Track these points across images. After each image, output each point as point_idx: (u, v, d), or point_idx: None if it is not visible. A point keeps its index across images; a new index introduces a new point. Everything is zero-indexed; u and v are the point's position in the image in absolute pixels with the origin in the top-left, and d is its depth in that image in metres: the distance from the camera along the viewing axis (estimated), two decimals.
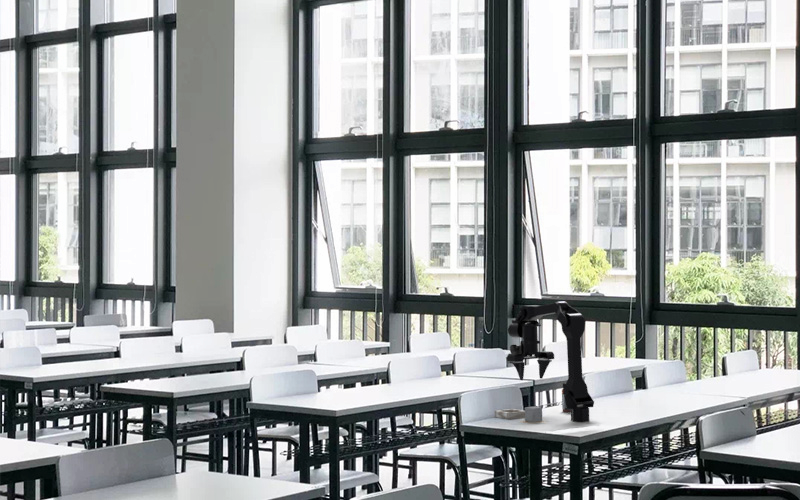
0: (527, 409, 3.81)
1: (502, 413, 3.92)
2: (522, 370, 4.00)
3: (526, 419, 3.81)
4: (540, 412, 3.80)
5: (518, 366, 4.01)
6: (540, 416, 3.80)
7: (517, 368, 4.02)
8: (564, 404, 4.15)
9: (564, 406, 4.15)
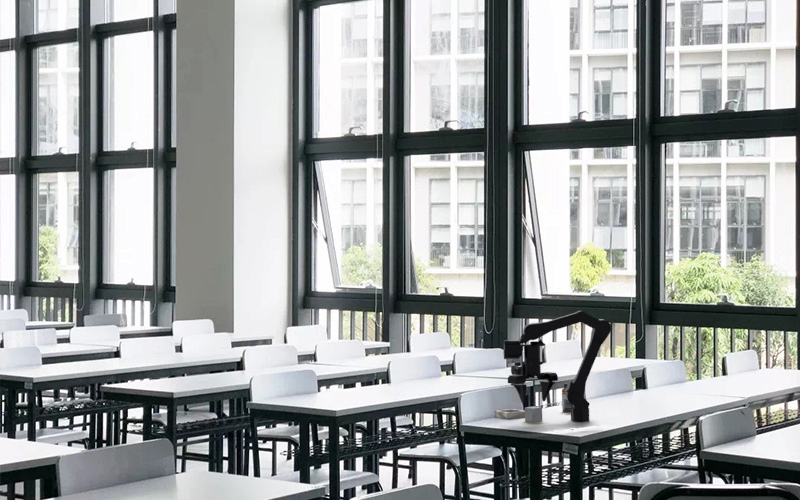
0: (527, 409, 3.81)
1: (502, 413, 3.92)
2: (524, 393, 3.77)
3: (526, 419, 3.81)
4: (540, 412, 3.80)
5: (519, 388, 3.78)
6: (540, 416, 3.80)
7: (518, 390, 3.79)
8: (564, 404, 4.15)
9: (564, 406, 4.15)
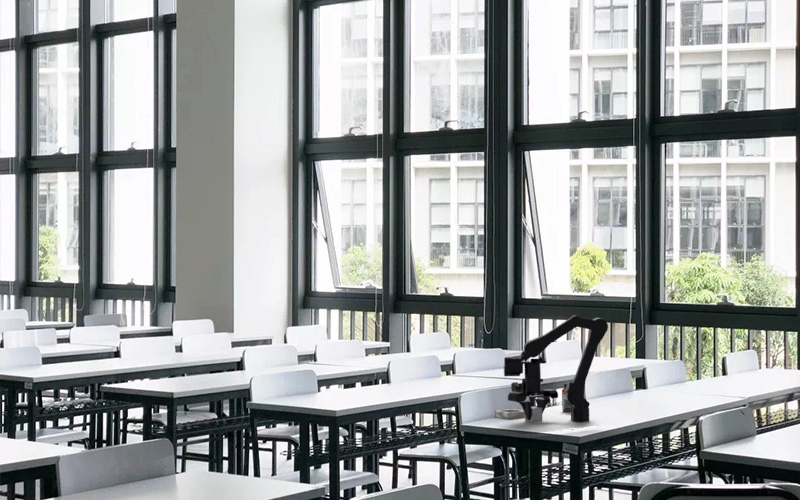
0: None
1: (502, 413, 3.92)
2: (529, 410, 3.78)
3: (526, 419, 3.81)
4: (540, 412, 3.80)
5: (525, 405, 3.79)
6: (540, 416, 3.80)
7: (524, 407, 3.80)
8: (564, 404, 4.15)
9: (564, 406, 4.15)
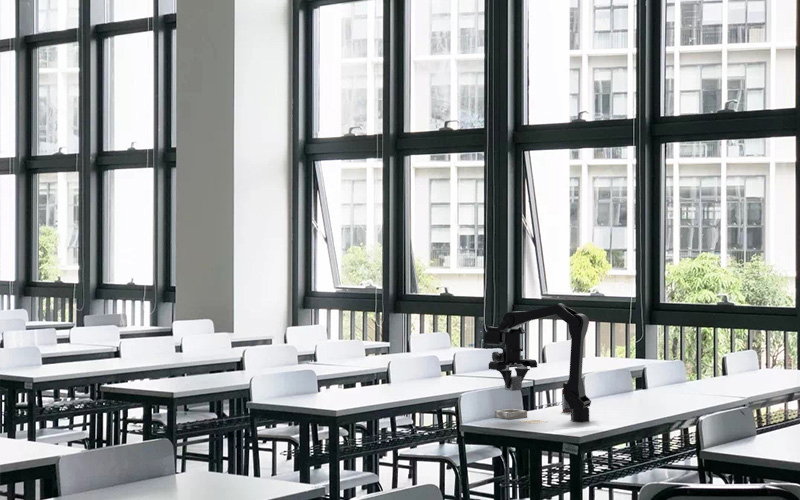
0: None
1: (502, 413, 3.92)
2: (509, 378, 3.89)
3: (506, 387, 3.92)
4: (519, 381, 3.91)
5: (505, 374, 3.91)
6: (519, 385, 3.91)
7: (504, 376, 3.91)
8: (564, 404, 4.15)
9: (564, 406, 4.15)
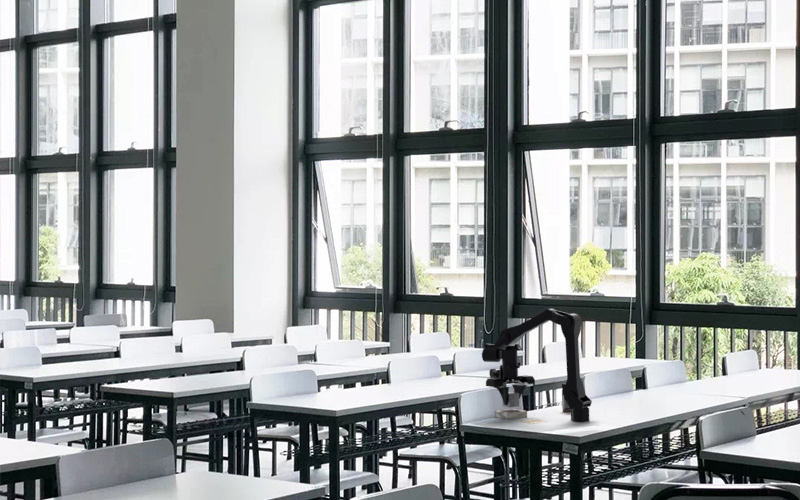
0: None
1: (502, 413, 3.92)
2: (506, 395, 3.91)
3: None
4: (517, 397, 3.93)
5: (502, 391, 3.93)
6: (517, 401, 3.93)
7: (501, 393, 3.93)
8: (564, 404, 4.15)
9: (564, 406, 4.15)
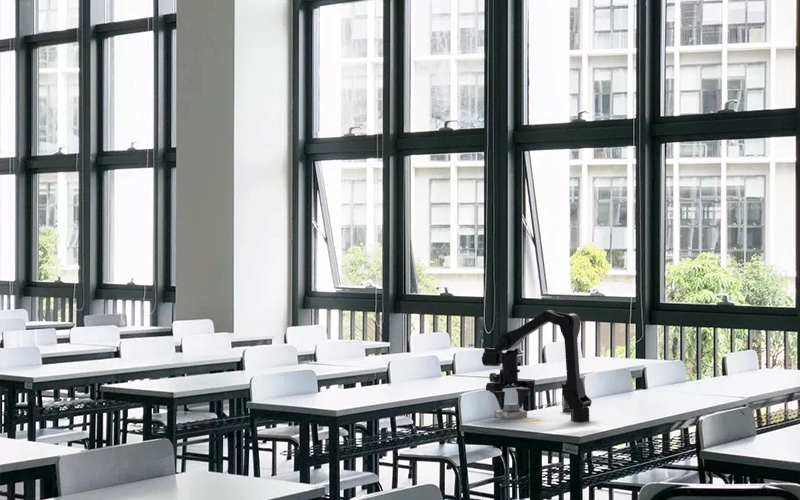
0: (505, 406, 3.94)
1: (502, 413, 3.92)
2: (502, 400, 3.90)
3: None
4: (517, 408, 3.93)
5: (498, 395, 3.92)
6: None
7: (497, 397, 3.92)
8: (564, 404, 4.15)
9: (564, 406, 4.15)
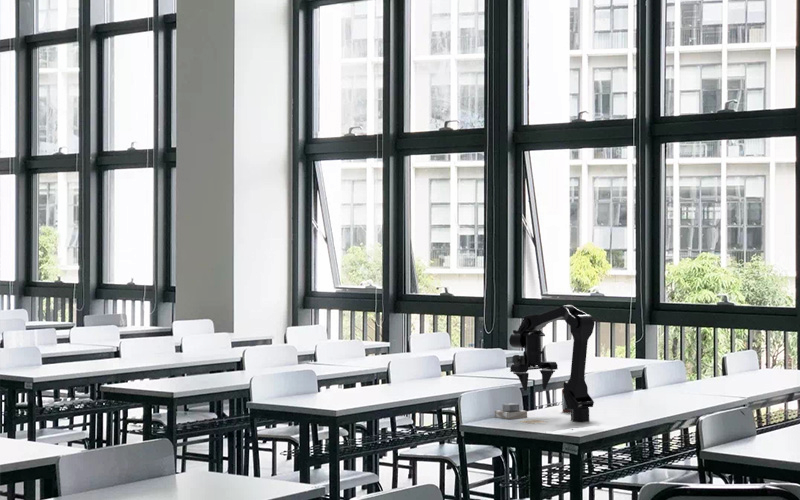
0: (505, 406, 3.94)
1: (502, 413, 3.92)
2: (526, 381, 3.94)
3: None
4: (517, 408, 3.93)
5: (522, 377, 3.96)
6: None
7: (521, 379, 3.96)
8: (564, 404, 4.15)
9: (564, 406, 4.15)
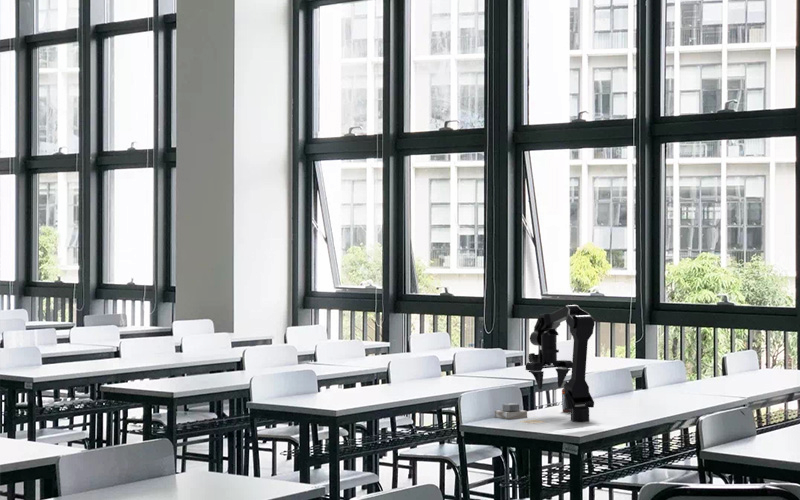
0: (505, 406, 3.94)
1: (502, 413, 3.92)
2: (541, 379, 3.97)
3: None
4: (517, 408, 3.93)
5: (537, 375, 3.99)
6: None
7: (536, 377, 3.99)
8: (564, 404, 4.15)
9: (564, 406, 4.15)
